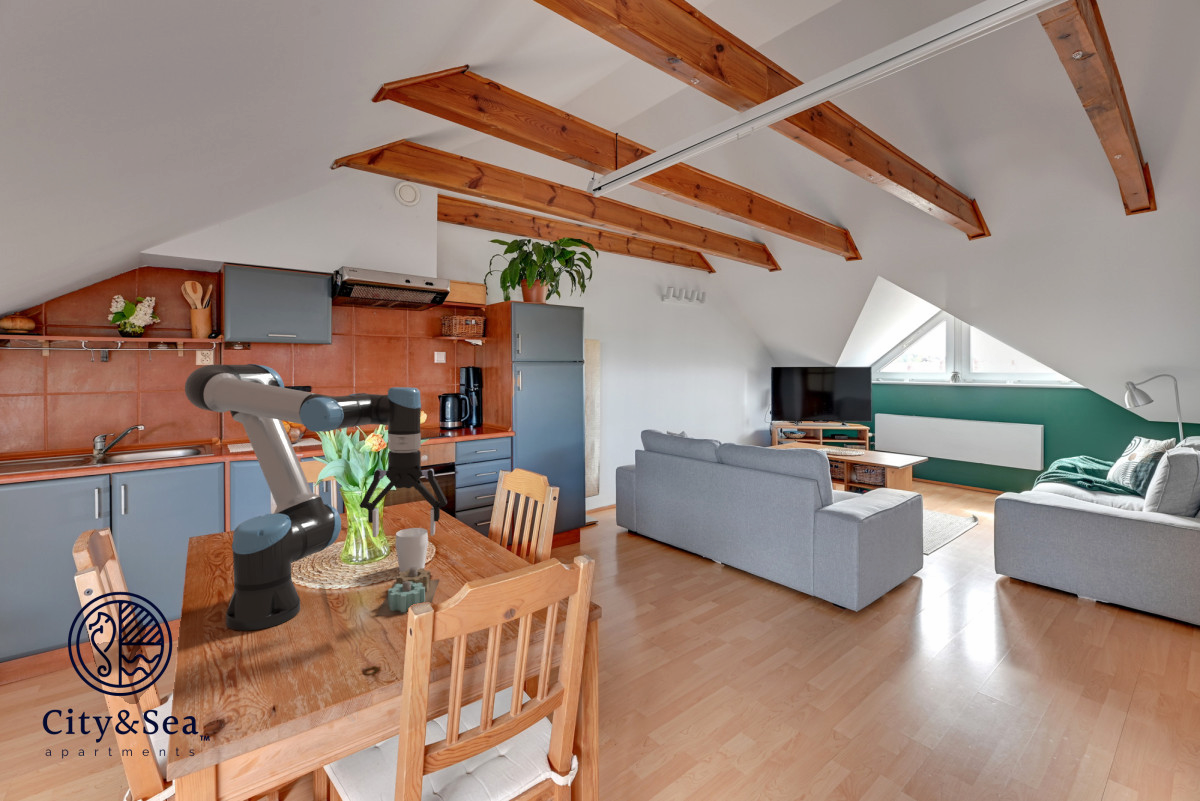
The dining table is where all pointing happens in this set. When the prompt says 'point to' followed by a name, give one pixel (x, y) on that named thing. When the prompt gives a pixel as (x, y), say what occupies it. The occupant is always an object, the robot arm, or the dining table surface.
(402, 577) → the gear
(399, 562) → the cup
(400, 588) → the gear
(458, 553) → the dining table surface
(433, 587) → the gear board
